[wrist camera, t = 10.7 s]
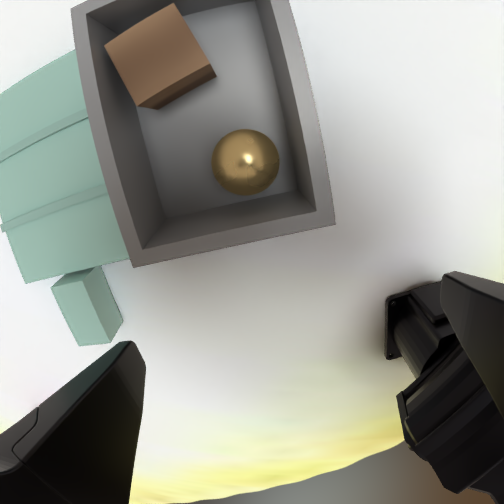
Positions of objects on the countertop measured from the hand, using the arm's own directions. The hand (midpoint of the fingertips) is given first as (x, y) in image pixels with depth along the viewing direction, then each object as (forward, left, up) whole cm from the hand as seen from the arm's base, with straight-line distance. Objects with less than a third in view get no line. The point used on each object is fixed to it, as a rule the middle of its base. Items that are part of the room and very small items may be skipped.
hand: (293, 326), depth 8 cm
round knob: (+3, 0, -12) cm, 13 cm away
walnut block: (+10, +3, -12) cm, 16 cm away
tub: (+7, +2, -13) cm, 15 cm away
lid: (+4, +14, -13) cm, 20 cm away
